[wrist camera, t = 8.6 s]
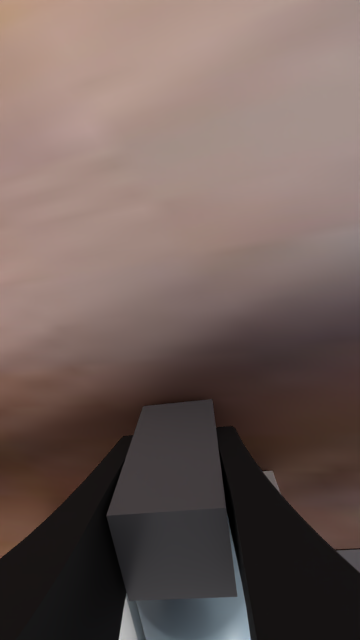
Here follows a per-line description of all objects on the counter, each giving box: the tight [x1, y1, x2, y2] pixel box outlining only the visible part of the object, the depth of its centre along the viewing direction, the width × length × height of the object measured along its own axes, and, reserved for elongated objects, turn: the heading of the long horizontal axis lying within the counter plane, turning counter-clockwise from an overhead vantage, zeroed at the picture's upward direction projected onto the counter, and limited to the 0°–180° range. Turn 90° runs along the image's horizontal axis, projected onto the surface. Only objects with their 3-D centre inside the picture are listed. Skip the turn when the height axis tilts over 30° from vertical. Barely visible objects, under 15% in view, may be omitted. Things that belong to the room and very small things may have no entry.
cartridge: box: [106, 399, 251, 640], centre depth 10 cm, size 4×12×5 cm, turn 8°
